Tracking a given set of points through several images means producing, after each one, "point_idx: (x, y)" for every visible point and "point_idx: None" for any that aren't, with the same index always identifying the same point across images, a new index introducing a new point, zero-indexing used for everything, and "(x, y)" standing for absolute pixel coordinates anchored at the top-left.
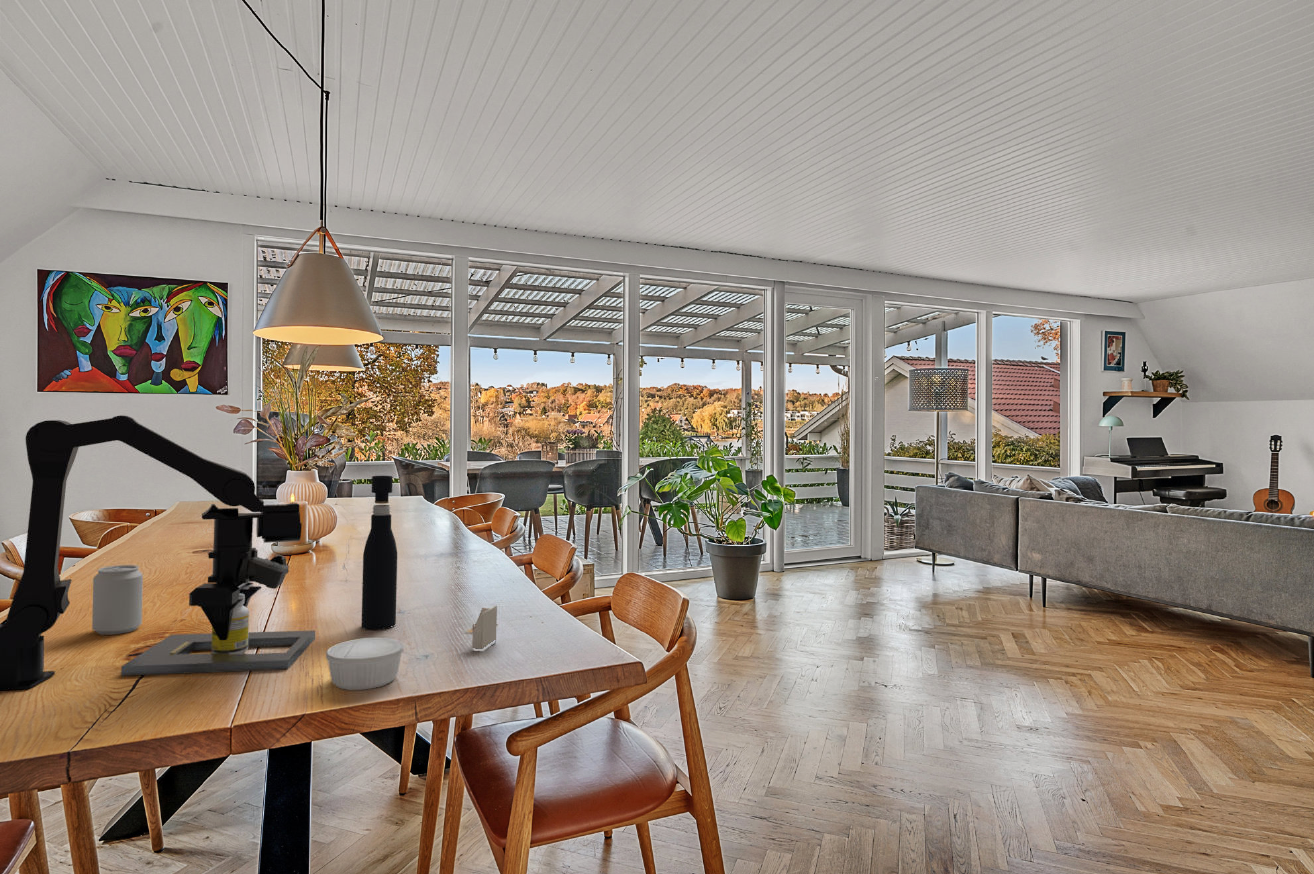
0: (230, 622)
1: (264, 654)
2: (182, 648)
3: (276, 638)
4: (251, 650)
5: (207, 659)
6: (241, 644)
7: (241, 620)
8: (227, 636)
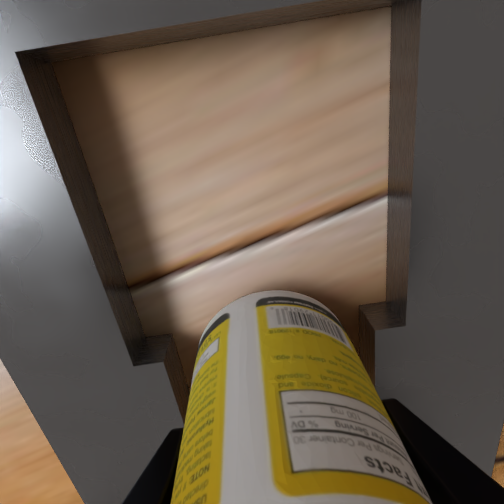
0: (472, 500)
1: (438, 129)
2: None
3: (81, 221)
4: (189, 292)
5: (464, 365)
6: (317, 321)
7: (382, 464)
8: (399, 409)
